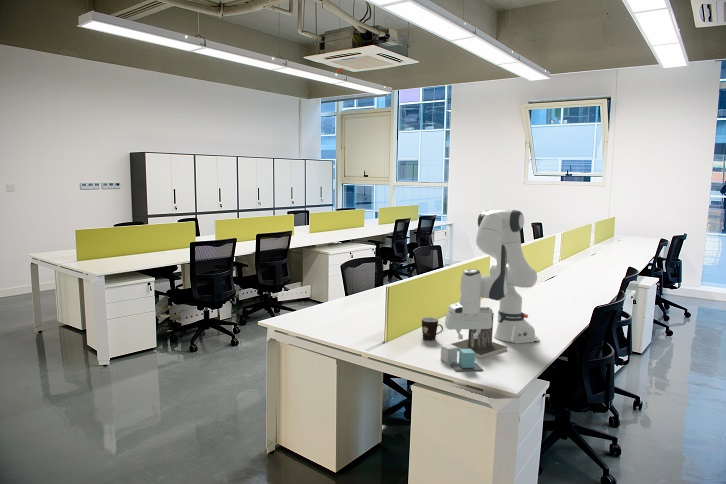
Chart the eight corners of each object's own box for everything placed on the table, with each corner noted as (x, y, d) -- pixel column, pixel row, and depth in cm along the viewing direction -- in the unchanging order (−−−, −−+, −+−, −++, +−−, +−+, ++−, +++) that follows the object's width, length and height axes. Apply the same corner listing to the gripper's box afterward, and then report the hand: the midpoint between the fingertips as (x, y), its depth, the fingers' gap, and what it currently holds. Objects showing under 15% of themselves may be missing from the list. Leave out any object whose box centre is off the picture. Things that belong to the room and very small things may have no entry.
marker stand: (476, 364, 219) (476, 348, 218) (482, 370, 211) (483, 355, 210) (450, 364, 217) (450, 349, 216) (455, 371, 209) (456, 355, 208)
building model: (476, 340, 253) (478, 306, 251) (509, 351, 238) (511, 315, 236) (450, 347, 241) (451, 312, 238) (483, 359, 225) (485, 322, 223)
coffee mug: (417, 336, 256) (418, 317, 254) (432, 335, 259) (433, 316, 257) (428, 343, 245) (429, 324, 244) (443, 342, 248) (444, 322, 247)
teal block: (470, 363, 217) (470, 348, 216) (474, 367, 212) (475, 352, 211) (458, 363, 216) (459, 349, 215) (462, 368, 211) (463, 353, 210)
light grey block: (449, 357, 226) (450, 343, 225) (456, 361, 221) (457, 347, 220) (440, 359, 223) (441, 345, 222) (447, 363, 219) (448, 349, 218)
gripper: (489, 305, 215) (488, 336, 217) (444, 305, 212) (443, 336, 214) (495, 309, 209) (493, 340, 211) (449, 309, 206) (447, 341, 208)
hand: (467, 338), depth 212 cm, fingers open, 5 cm apart
